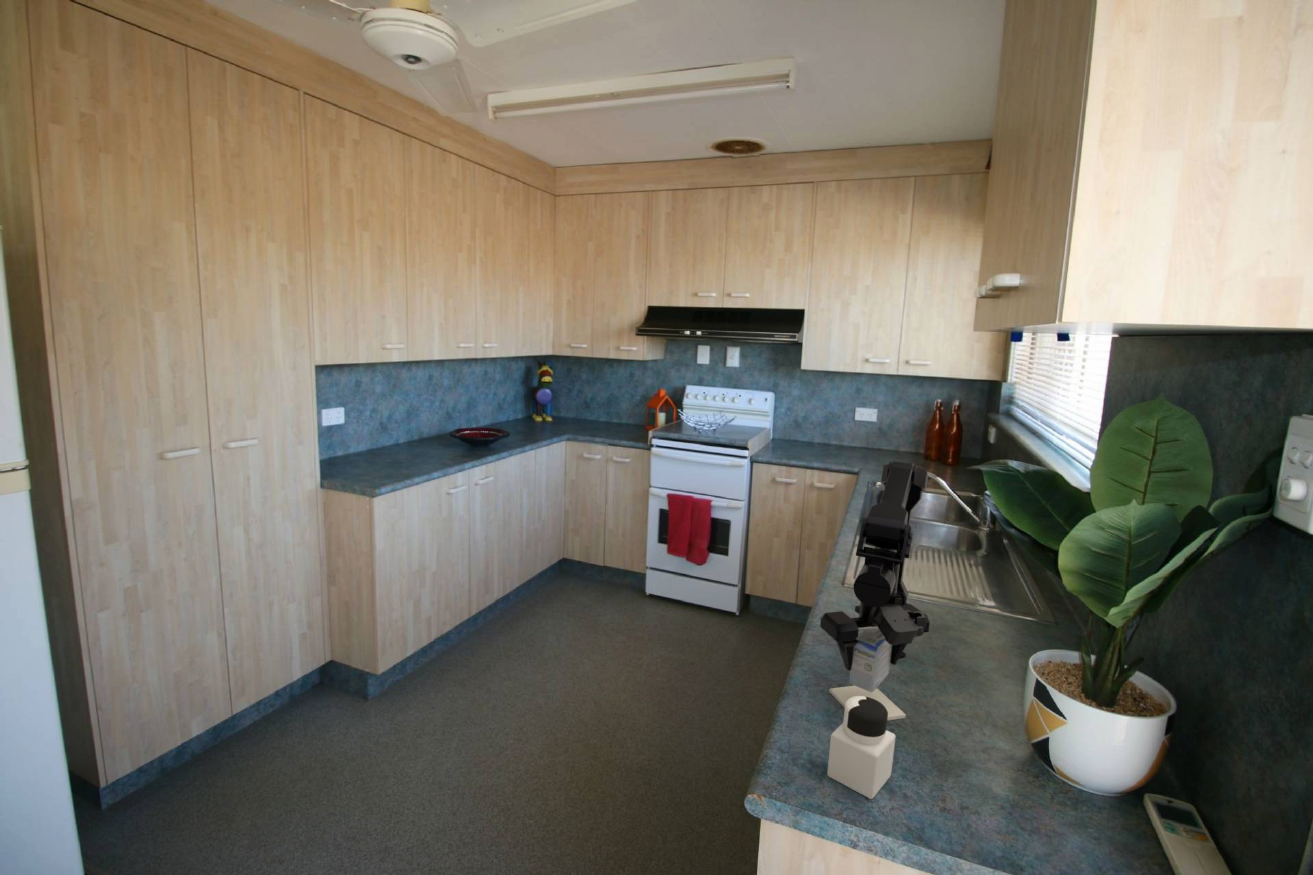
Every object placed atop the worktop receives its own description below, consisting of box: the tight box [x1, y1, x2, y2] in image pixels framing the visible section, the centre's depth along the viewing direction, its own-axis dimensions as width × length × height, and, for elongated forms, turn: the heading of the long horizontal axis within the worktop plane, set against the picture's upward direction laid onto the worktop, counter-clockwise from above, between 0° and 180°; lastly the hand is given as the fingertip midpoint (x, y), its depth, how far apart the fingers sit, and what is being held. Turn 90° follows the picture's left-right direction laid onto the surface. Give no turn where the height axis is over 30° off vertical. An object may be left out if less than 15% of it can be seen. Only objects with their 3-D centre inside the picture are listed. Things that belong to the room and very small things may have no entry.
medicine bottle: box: [826, 696, 896, 800], centre depth 94 cm, size 7×7×12 cm
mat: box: [829, 685, 907, 722], centre depth 114 cm, size 9×10×1 cm
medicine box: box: [848, 627, 892, 692], centre depth 112 cm, size 8×4×9 cm, turn 141°
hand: (870, 666), depth 113 cm, fingers closed on medicine box, 9 cm apart
